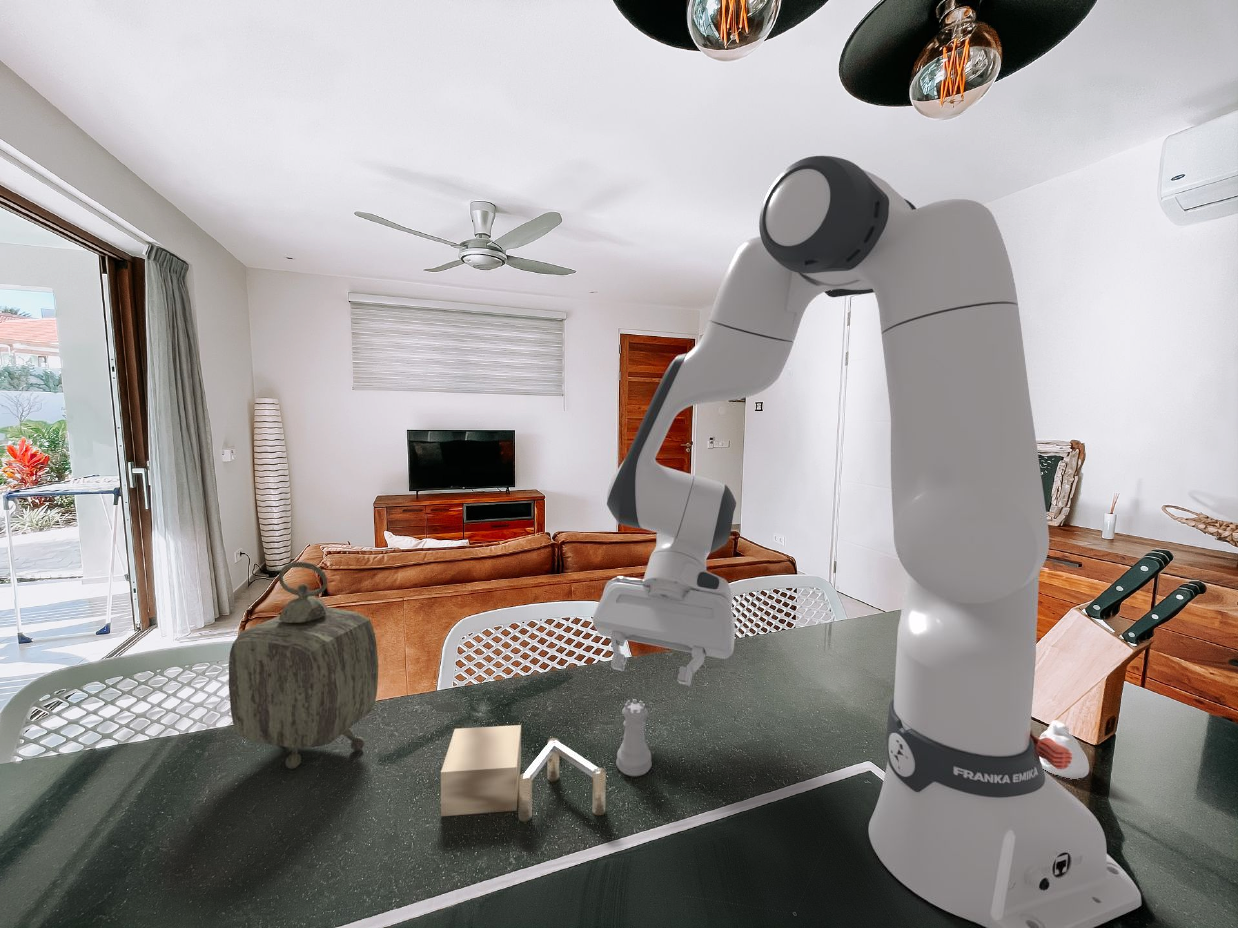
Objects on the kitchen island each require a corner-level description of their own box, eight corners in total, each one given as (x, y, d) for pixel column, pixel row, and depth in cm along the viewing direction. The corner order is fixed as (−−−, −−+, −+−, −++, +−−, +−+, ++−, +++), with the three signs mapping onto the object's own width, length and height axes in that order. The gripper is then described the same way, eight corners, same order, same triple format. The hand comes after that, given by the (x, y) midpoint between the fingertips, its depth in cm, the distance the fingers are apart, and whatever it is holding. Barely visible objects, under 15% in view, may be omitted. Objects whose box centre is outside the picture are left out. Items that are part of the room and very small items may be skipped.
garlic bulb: (1025, 709, 68) (1069, 712, 68) (1021, 753, 69) (1066, 756, 68) (1055, 734, 63) (1104, 737, 62) (1051, 781, 63) (1100, 784, 63)
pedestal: (521, 763, 65) (521, 724, 64) (516, 810, 57) (516, 766, 57) (455, 767, 64) (454, 728, 63) (441, 816, 56) (440, 772, 56)
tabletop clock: (380, 744, 68) (376, 558, 66) (327, 791, 59) (321, 578, 57) (288, 728, 71) (282, 550, 69) (225, 771, 62) (216, 568, 61)
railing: (599, 769, 64) (600, 734, 63) (605, 814, 56) (606, 775, 56) (522, 775, 63) (522, 739, 62) (518, 821, 55) (518, 781, 55)
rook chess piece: (649, 780, 62) (650, 716, 61) (612, 775, 63) (613, 711, 62) (653, 757, 66) (655, 697, 66) (619, 752, 67) (620, 693, 67)
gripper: (603, 564, 79) (572, 651, 71) (738, 582, 71) (721, 683, 63) (614, 584, 84) (586, 668, 75) (743, 603, 76) (727, 700, 67)
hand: (649, 675), depth 69 cm, fingers open, 8 cm apart
